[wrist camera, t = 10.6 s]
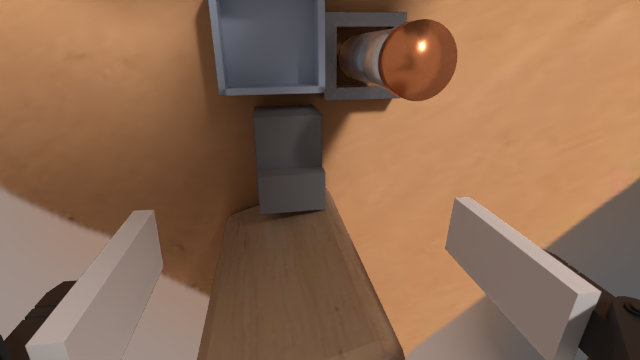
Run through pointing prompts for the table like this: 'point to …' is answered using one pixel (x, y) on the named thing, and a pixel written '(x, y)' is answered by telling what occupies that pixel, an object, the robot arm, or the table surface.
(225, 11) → the tray
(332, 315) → the block
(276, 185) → the dark grey stepped piece
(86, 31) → the table surface
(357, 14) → the socket
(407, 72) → the pin
